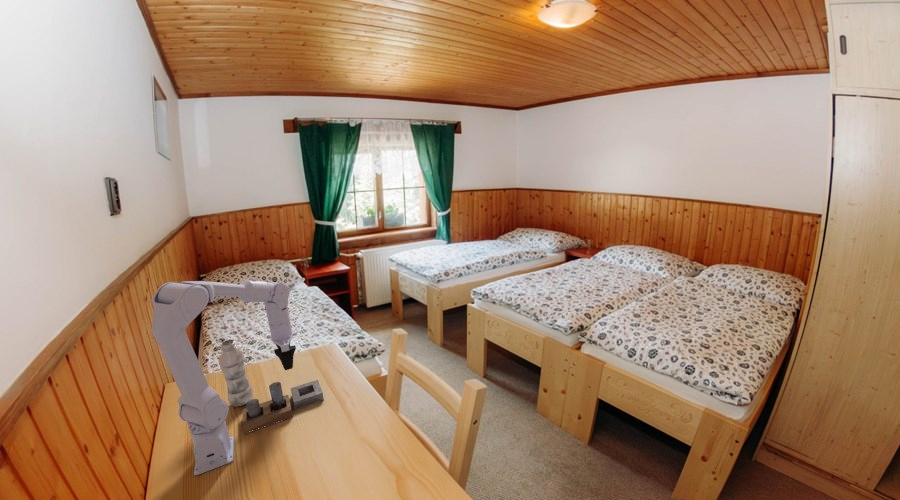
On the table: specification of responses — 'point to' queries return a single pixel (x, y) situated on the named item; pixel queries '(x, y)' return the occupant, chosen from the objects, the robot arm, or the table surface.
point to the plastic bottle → (235, 374)
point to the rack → (269, 417)
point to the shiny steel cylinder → (277, 396)
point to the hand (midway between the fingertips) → (287, 363)
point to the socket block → (308, 398)
